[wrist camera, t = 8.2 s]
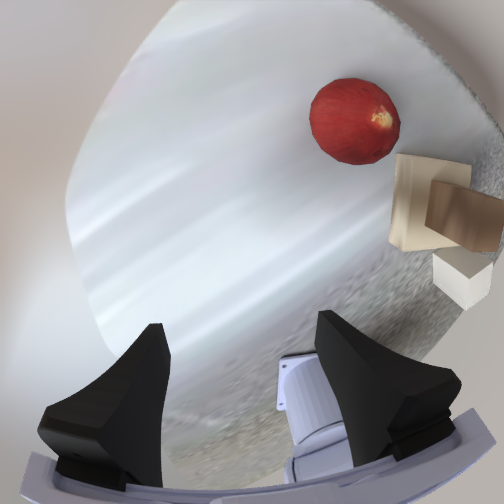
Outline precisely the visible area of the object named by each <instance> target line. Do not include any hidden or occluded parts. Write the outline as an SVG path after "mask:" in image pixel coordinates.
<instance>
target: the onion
mask: <svg viewBox="0 0 504 504" xmlns="http://www.w3.org/2000/svg"><path fill="white" fill-rule="evenodd" d="M309 120H310V125H311V130H312V135H313V136H314V138H315V139H316V141H317V143H318V144H319V146H320V147H321V149H322V150H323V151H324V152H326V153H327V154H329V155H330V156H332V157H333V158H334V159H336V160H337V161H339V162H343V163H347V164H352V165H363V164H372V163H375V162H377V161H378V160H380V159H381V158H383V157H385V156H386V155H388V154H389V153H390V152H391V150H392V149H393V147H394V145H395V144H396V142H397V140H398V138H399V132H400V123H401V122H400V119H399V116H398V113H397V110H396V108H395V106H394V104H393V102H392V101H391V99H390V97H389V96H388V94H387V93H385V92H384V91H383V90H382V89H381V88H379V87H378V86H377V85H375V84H374V83H371V82H368V81H364V80H361V79H356V78H349V79H338V80H334V81H333V82H331V83H329V84H328V85H326V86H325V87H323V88H322V89H321V90H320V91H319V92H318V93H317V95H316V97H315V98H314V100H313V102H312V103H311V110H310V117H309Z"/></svg>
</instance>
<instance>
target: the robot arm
mask: <svg viewBox="0 0 504 504" xmlns="http://www.w3.org/2000/svg"><path fill="white" fill-rule="evenodd" d="M314 344H315V348H316V351H317V353H313V354H306V355H299V356H292V357H284V358H282V359H280V361H279V378H278V395H277V410H286V414H287V418H288V422H289V426H290V430H291V434H292V438H293V442H294V445H295V446H294V447H292V450H293V454H294V457H291V458H289V459H288V460H287V463H286V465H285V468H284V480H285V484H281V485H274V486H266V487H257V488H247V489H230V490H184V489H169V488H163V483H162V472H161V421H162V413H163V407H164V401H165V396H166V391H167V386H168V380H169V375H170V362H171V354H170V351H169V347H168V344H167V340H166V336H165V333H164V329H163V325H162V323H155V324H149V325H148V326H147V327H146V328H145V330H144V331H143V332H142V333H141V334H140V336H139V337H138V338H137V339H136V340H135V342H134V343H133V344H132V345H131V346H130V347H129V349H128V350H127V351H126V352H125V353H124V354H123V355H122V356H121V357H120V358H119V359H118V360H117V361H116V363H115V364H114V365H113V366H111V367H110V368H109V369H108V370H107V371H106V372H105V373H103V374H102V375H101V376H100V377H99V378H97V379H96V380H95V381H93V382H92V383H90V384H89V385H88V386H86V387H85V388H83V389H82V390H80V391H79V392H77V393H75V394H73V395H71V396H70V397H68V398H66V399H64V400H62V401H59V402H57V403H55V404H53V405H50V406H48V407H47V408H46V410H45V412H44V414H43V417H42V419H41V422H40V424H39V426H38V430H37V432H38V434H39V436H40V438H41V439H42V440H43V441H44V442H45V443H46V444H47V445H48V446H49V447H50V448H51V449H52V450H53V451H54V452H55V453H56V454H57V455H58V456H59V458H58V461H56V460H54V459H52V458H50V457H47V456H44V455H42V454H39V453H36V452H34V451H32V452H31V455H30V458H29V461H28V464H27V467H26V470H25V474H24V477H23V481H22V484H21V488H20V492H19V494H20V495H21V496H23V497H24V498H26V499H27V500H29V501H31V502H32V503H34V504H411V503H413V502H415V501H417V500H419V499H421V498H423V497H424V496H426V495H428V494H430V493H431V492H433V491H435V490H436V489H438V488H440V487H441V486H443V485H445V484H446V483H448V482H449V481H451V480H452V479H454V478H455V477H457V476H458V475H460V474H461V473H463V472H464V471H466V470H467V469H469V468H470V467H471V466H472V465H473V464H475V463H476V462H477V461H478V460H479V459H480V458H481V457H482V456H484V455H485V454H486V453H487V452H488V451H489V450H490V449H491V448H492V447H493V446H494V445H495V444H496V441H495V439H494V437H493V436H492V435H491V433H490V431H489V430H488V429H487V427H486V426H485V424H484V422H483V421H482V420H481V418H480V417H479V415H478V414H477V412H476V411H475V410H474V408H471V409H470V410H468V411H466V412H465V413H463V414H461V415H460V416H458V417H456V418H455V419H454V420H453V421H451V419H450V418H449V417H450V416H451V411H450V410H449V407H450V405H451V404H452V402H453V401H454V399H455V398H456V397H457V395H458V393H459V391H460V389H461V386H462V384H461V381H460V380H459V378H458V377H457V376H456V374H455V373H454V372H453V371H452V370H451V369H448V368H442V367H437V366H432V365H429V364H425V363H421V362H418V361H416V360H413V359H410V358H407V357H405V356H402V355H400V354H398V353H396V352H394V351H392V350H390V349H388V348H386V347H384V346H382V345H380V344H379V343H377V342H375V341H374V340H372V339H371V338H369V337H367V336H366V335H364V334H363V333H362V332H360V331H359V330H357V329H356V328H355V327H353V326H352V325H351V324H349V323H348V322H347V321H345V320H344V319H343V318H341V317H340V316H339V315H337V314H336V313H335V312H333V311H332V310H325V311H319V313H318V321H317V329H316V336H315V343H314Z"/></svg>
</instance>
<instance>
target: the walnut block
mask: <svg viewBox="0 0 504 504" xmlns="http://www.w3.org/2000/svg"><path fill="white" fill-rule="evenodd" d="M424 226H426V227H428V228H429V229H431V230H433V231H435V232H437V233H439V234H441V235H442V236H444V237H446V238H448V239H450V240H451V241H453V242H455V243H457V244H458V245H460V246H462V247H464V248H465V249H467V250H469V251H470V252H497V251H498V247H499V243H500V239H501V235H502V231H503V226H504V201H503V200H501V199H498V198H495V197H493V196H490V195H487V194H484V193H481V192H479V191H476V190H473V189H470V188H466V187H463V186H460V185H456V184H451V183H446V182H441V181H436V180H431V186H430V194H429V201H428V208H427V214H426V220H425V225H424Z"/></svg>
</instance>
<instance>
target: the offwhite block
mask: <svg viewBox="0 0 504 504" xmlns="http://www.w3.org/2000/svg"><path fill="white" fill-rule="evenodd" d="M492 269H493V261H492V260H490V259H489V258H487V257H485V256H484V255H482V254H481V253H479V252H470V251H469V250H467V249H465V248H464V247H462V246H454V247H444V248H441V249H439V250H438V251H436V252H434V253H433V280H434V284H435V285H436V286H437V287H439V288H440V289H441V290H442V291H443V292H444V293H446V294H447V295H448V296H449V297H450V298H451V299H453V300H454V301H455V302H456V303H457V304H458V305H459V306H460V307H462V308H463V309H464V310H465V311H467V310H468V309H469V308H471V307H472V306H473V305H475V304H476V303H477V302H479V301H480V300H481V299H483V298H484V297H485V296H486V295H488V294H489V291H490V285H491V277H492Z"/></svg>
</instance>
